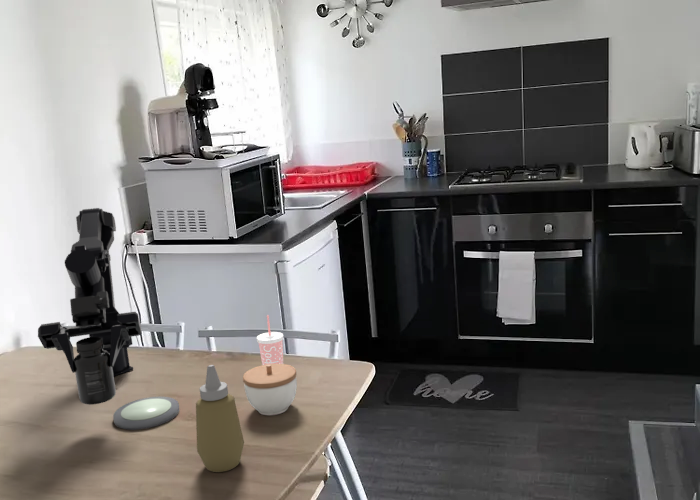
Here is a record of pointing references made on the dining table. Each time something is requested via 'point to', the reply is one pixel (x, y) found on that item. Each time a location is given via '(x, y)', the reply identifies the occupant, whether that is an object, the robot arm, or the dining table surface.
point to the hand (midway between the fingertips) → (92, 368)
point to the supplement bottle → (93, 372)
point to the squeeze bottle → (218, 425)
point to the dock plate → (146, 413)
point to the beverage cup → (271, 346)
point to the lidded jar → (270, 387)
